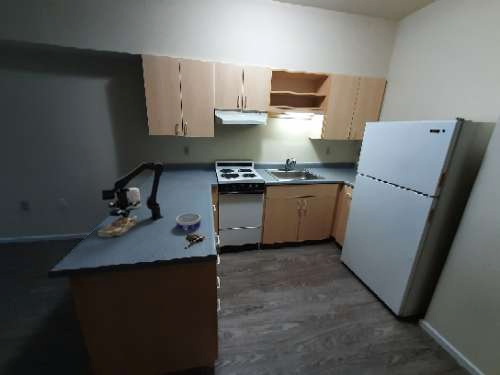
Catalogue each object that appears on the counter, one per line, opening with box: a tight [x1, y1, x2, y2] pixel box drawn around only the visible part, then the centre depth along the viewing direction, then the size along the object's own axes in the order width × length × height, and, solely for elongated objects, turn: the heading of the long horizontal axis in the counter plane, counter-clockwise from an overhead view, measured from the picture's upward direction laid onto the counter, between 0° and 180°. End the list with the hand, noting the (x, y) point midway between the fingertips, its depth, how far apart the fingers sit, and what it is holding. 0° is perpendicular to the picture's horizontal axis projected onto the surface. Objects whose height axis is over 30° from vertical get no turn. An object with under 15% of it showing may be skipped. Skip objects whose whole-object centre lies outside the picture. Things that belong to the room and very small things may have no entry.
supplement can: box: [127, 187, 142, 210], centre depth 165 cm, size 8×8×15 cm
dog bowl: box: [175, 212, 202, 232], centre depth 140 cm, size 15×15×6 cm
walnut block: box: [113, 216, 127, 227], centre depth 137 cm, size 6×4×4 cm, turn 172°
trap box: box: [97, 215, 138, 238], centre depth 135 cm, size 24×12×3 cm, turn 173°
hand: (126, 220), depth 142 cm, fingers closed
